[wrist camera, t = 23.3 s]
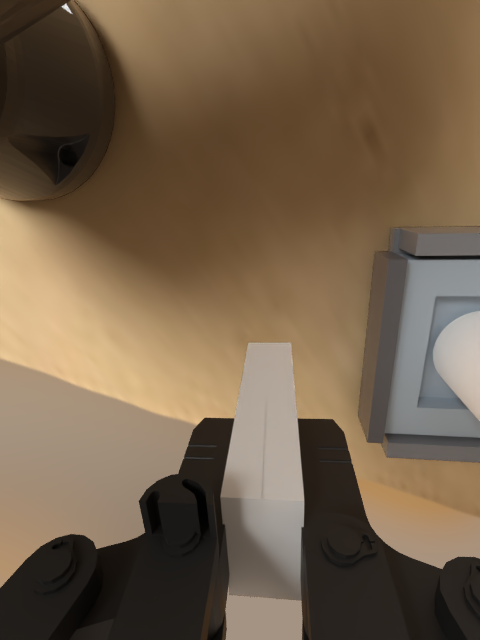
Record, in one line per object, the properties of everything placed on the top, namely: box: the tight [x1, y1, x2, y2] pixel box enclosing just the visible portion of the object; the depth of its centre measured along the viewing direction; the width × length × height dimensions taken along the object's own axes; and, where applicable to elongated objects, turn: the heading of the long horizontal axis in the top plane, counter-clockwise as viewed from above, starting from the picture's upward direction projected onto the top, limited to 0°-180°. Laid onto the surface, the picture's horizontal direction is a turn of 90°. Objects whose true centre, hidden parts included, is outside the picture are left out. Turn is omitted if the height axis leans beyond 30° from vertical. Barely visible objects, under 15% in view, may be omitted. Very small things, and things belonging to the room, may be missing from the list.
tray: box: [358, 251, 480, 443], centre depth 26 cm, size 15×14×4 cm
